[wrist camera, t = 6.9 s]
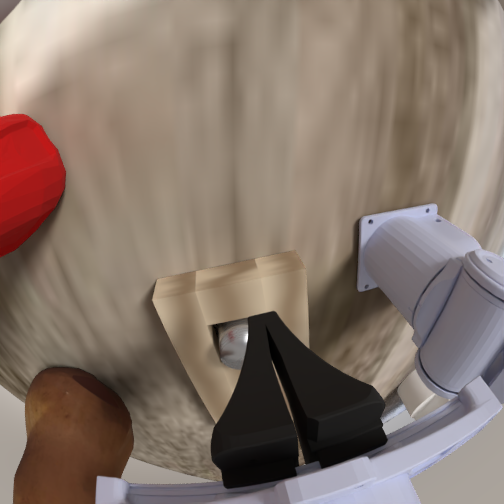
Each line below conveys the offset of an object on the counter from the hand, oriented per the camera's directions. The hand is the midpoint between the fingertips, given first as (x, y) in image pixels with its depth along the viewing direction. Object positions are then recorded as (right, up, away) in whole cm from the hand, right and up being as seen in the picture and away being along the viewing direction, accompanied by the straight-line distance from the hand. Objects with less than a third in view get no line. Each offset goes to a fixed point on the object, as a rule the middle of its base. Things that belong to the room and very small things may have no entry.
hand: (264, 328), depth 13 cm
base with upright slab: (+29, -19, +27) cm, 44 cm away
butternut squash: (-21, -13, +15) cm, 29 cm away
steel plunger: (-2, -3, +13) cm, 13 cm away
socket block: (-1, -8, +16) cm, 18 cm away
